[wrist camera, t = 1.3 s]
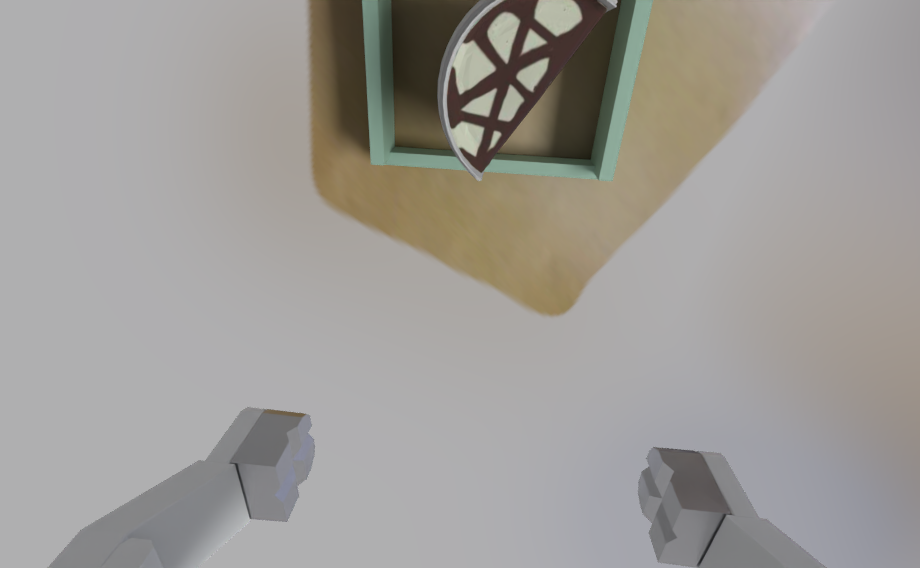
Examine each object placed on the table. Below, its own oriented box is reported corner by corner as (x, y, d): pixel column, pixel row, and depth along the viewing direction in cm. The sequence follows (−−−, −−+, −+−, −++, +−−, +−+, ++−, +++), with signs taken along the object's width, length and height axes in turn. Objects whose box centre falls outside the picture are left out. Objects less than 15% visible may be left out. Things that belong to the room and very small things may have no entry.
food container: (521, -59, 29) (530, -98, 20) (590, 5, 30) (625, -5, 22) (419, 101, 35) (392, 125, 26) (481, 150, 36) (475, 187, 27)
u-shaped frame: (374, -78, 29) (357, -93, 26) (650, -66, 28) (671, -80, 25) (383, 157, 37) (371, 170, 33) (600, 172, 36) (610, 187, 33)
